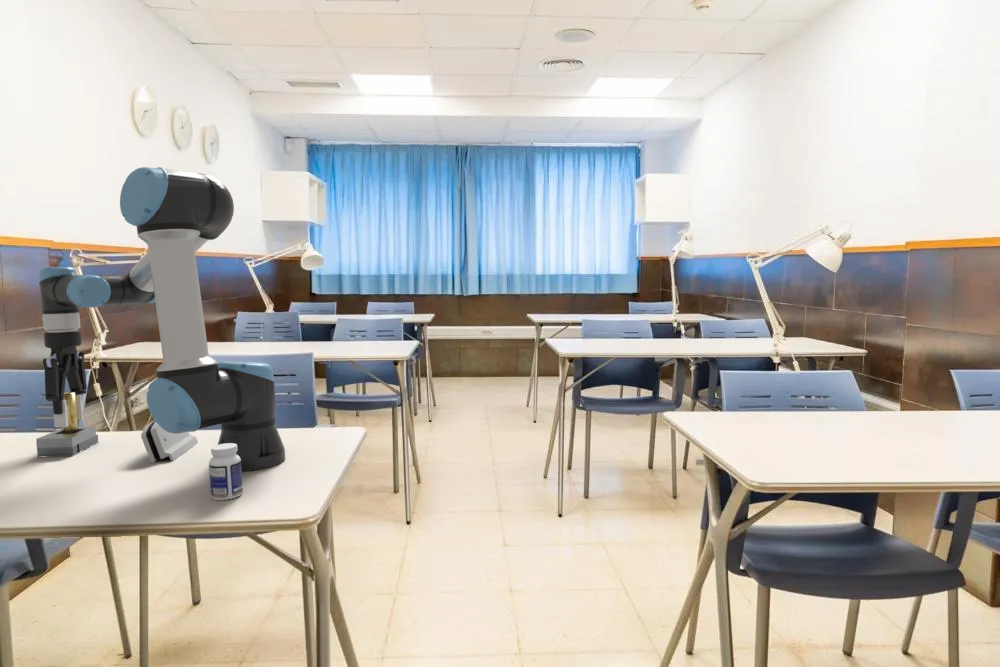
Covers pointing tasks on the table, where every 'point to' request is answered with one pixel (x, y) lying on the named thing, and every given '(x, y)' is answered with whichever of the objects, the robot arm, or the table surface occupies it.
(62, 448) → the grey block with pocket
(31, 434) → the table surface
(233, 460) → the pill bottle
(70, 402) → the pin
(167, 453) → the white piece
